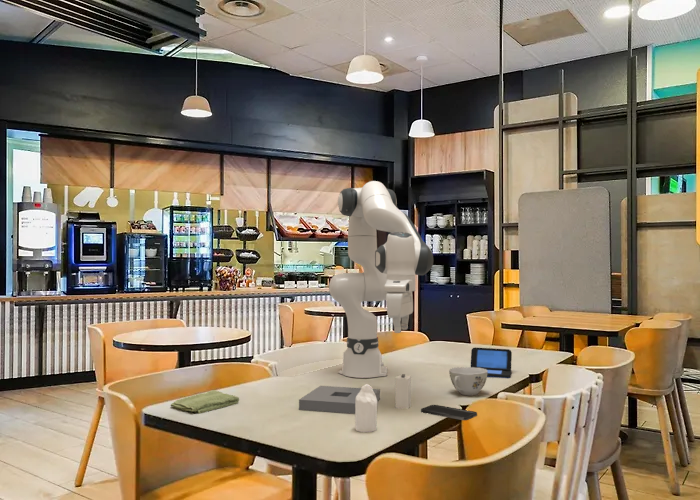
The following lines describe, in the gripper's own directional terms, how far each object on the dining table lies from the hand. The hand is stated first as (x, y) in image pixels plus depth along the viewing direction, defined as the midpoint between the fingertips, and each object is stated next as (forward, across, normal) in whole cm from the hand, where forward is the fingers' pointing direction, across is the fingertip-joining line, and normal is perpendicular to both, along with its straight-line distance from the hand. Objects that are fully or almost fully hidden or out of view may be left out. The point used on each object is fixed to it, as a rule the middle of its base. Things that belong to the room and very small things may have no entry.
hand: (401, 331), depth 183 cm
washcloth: (+23, +16, -57) cm, 64 cm away
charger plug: (+23, 0, 0) cm, 23 cm away
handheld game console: (+22, -60, +22) cm, 68 cm away
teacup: (+23, -23, +17) cm, 36 cm away
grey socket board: (+23, +2, -18) cm, 29 cm away
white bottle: (+23, +26, -4) cm, 35 cm away
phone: (+24, +3, +15) cm, 28 cm away
